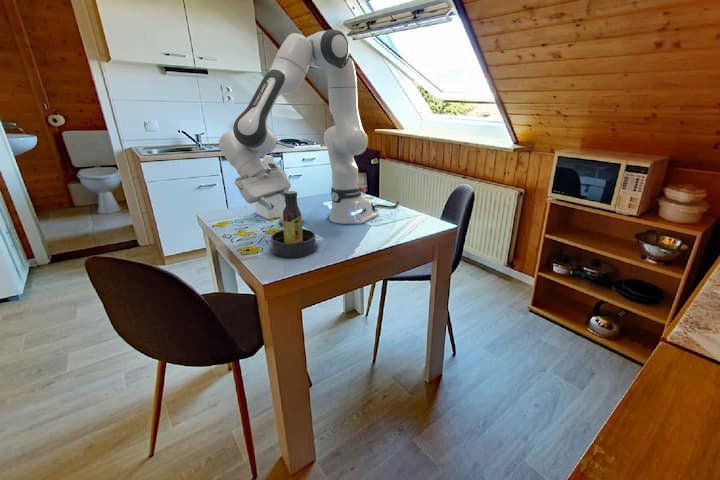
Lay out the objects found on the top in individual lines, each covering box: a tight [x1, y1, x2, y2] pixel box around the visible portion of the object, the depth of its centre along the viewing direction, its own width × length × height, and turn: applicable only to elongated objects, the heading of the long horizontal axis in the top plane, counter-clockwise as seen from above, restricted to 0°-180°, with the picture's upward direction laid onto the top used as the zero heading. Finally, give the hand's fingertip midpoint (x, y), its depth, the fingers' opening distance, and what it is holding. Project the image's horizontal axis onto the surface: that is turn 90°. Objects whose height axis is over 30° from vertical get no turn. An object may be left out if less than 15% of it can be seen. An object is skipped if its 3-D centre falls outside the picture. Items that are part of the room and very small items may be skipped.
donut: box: [278, 215, 304, 225], centre depth 145 cm, size 10×4×10 cm
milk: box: [254, 154, 288, 220], centre depth 153 cm, size 12×12×26 cm
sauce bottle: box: [282, 190, 303, 244], centre depth 116 cm, size 7×6×20 cm
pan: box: [270, 228, 317, 258], centre depth 119 cm, size 15×15×5 cm
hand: (280, 205), depth 116 cm, fingers open, 8 cm apart
